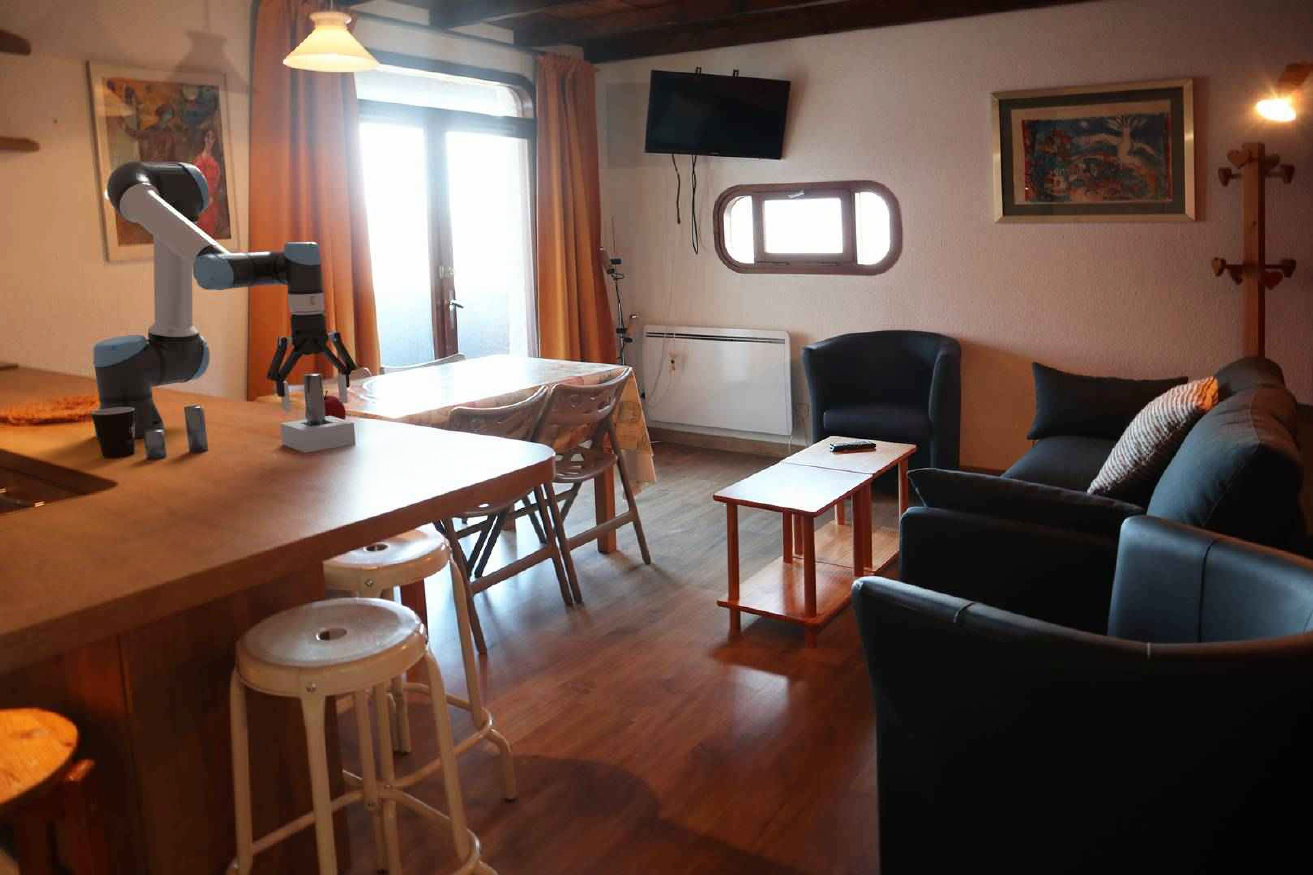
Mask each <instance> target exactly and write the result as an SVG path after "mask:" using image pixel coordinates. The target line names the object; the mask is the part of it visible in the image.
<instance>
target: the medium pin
mask: <svg viewBox="0 0 1313 875" xmlns="http://www.w3.org/2000/svg"><path fill="white" fill-rule="evenodd" d="M204 406H205V405H200V404H197V405H189V406H185V407H183V408H184V410H183V411H184V418H185V419H184V420H185V427H186V435H187V445H188V452H189V453H192V454H200V453H205V452H209V443H208V435H207V434H208V433H207V427H206V418H205V417H206V416H205V407H204Z"/></svg>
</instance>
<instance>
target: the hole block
mask: <svg viewBox="0 0 1313 875" xmlns="http://www.w3.org/2000/svg"><path fill="white" fill-rule="evenodd" d="M325 419H326V424H323V425H317V426H308V425H307V419H306V418H305V419H299V420H292V421H287V422H282V423H281V422H280V430H281V431H280V433H281V440H282V445H283V446H286V447H287V448H291V449H294V450H297V451H299V452H302V453H305V454H306V453H307V454H308V453H311V452H316V451H324V450H330V449H336V448H340V447H342V448H343V447H347V446H353V445H356V443H357V442H356V432H355V422H353V421H349V420H346V419H345V420H343V419H340V418H336V417H333V416H325Z"/></svg>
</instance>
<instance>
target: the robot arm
mask: <svg viewBox="0 0 1313 875" xmlns="http://www.w3.org/2000/svg"><path fill="white" fill-rule="evenodd" d="M106 193H107V198H108V200H109V202H110V204H111V205H112V207H113V209H115V211H116V212H117V213H118V214H119V215H121V217H123V218H124V219H125V220H127V221H130V222H132V223H137V224H139V225H140V226H142V228H144V229H145V230H146V231H147V232H149V233H150V234H151V235H152V236H153V238H152V239H153V240H152V241H153V242H152V243H153V292H154V293H153V294H154V295H153V297H154V298H153V300H154V306H153V307H154V322H153V323H152V324H151V325H150V326H149V327H148V328H147V332H148V333H147V338H146V336H144V335H143V334H128V335H122V336H116V337H112V338H111V337H110V338H106V339H104V340H102V341H99V342H98V343H97V344H95V345H94V347H93V365H94V370H95V377H96V379H95V380H96V385H97V393H98V401H99V408H98V410H100V409H107V408H117V407H131V408H134V409H135V439H139V438H140V439H141V438H144V431H146V430H152V429H163V430H164V431H165V423H164V420H163V418H162V415H161V414H160V412H159V410H158V407H157V405H156V404H155V402H154V396H153V388H154V387H160V386H166V385H167V386H168V385H172V384H178V383H180V384H183V383H187V382H189V381H194V380H197V379H200V378H201V377H202V375H204V374H205V373H206V371H207V369H208V368H209V364H210V358H211V356H210V354H211V353H210V348H209V346H207V344H208V342H207V341H206V339H205V338H204V337H203V336H202V335H201V334H200V329H198V328H197V326H195V324H194V323H193V278H194V280H196V283H197V285H198V286H199V287H200V288H202V289H203V290H206V291H207V290H208V291H224V290H231V289H238V288H239V289H240V288H242V289H243V288H251V287H252V288H253V287H266V286H279V285H280V286H287V296H288V297H287V298H288V311H289V312H291V314H290V316H289V319H290V320H289V322H290V331H291V336H289V337H286V336H280V335H279V336H278V337H277V347H276V349H275V352H274V355H273V358H272V361H271V362H270V366H269V368H268V370H267V374H266V379H267V380H269V381H274V383H275V386H276V387H275V388H276V395H277V397H280V398H281V407H282V408H281V409H282V411H284V412H286V413H287V412H291V411H292V410H291V401H290V400H291V399H290V387H289V381H285V380H286V379H287V377H288V376H289V375H290V373H291V371H292V370H293V368H294V367H295V366H296V364H297V362H299V359H301V358H302V357H303V355H304V356H310V355H313V354H314V355H320V354H321V355H323V356H324V357H325V358H326V360H328V361H329V362H330V363H331V364H332V365H333V366H334V368H335V369H337V370H338V371H339V372H340V373H337V374H336V375H337V389H338V399H339V402H341V403H343V404H348V402H349V400H348V389H349V388H350V387H351V383H350V375H351V374H352V372H353V371H356V370H357V369H358V368H357V365H356V363H355V362H354V359H353V358H352V356H351V355H350V353H349V351H348V349H347V348H346V345H344V343H343V341H342V340H343V339H342V336H341V332H340V331H335V330H334V331H331V332H330V333H329V332H328V333H327V320H326V313H325V312H323V311H325V310H326V309H325V297H324V286H323V273H322V262H323V261H322V259H321V253H320V251H321V250H320V247H319V246H320V245H319V244H318V243H317V242H314V241H295V242H286V243H285V244H284V245H283V251H279V250H277V251H276V250H267V249H266V250H258V251H251V252H250V251H249V252H229V251H228V250H227V249H226V248H224V247H223V246H222V245H220V244H219V243H218V242H217V241H216V240H214V239H213V238H212V237H210V236H209V235H208V234H207V233H205V231H203V230H202V229H201V228H199V227H198V226H197V224H198V223H199V222H200V219H199V218H200V217H199V216H200V215H199V214H200V213H202V212H203V211H205V210H206V209H207V208H208V205H209V203H210V187H209V184H208V181H207V179H206V177H205V176H204V174H203V173H202V171H201V170H200V169H199V168H198V167H197V166H195V165H194V164H191V163H188V162H187V163H186V162H178V161H140V160H133V161H129V162H125V163H122V164H121V165H118V167H116V168H115V169H114V170H113V171H112V173H111V174H110V176H109V177H108V180H107V185H106ZM328 341H330V342H332V344H333V346H334V348H335V350H336V351H337V353H338V355H339V356H340V358H341V360H342V361H341V360H340V358H338V357H337V356H336V354H334V352H332V350H331V349H330V348H329V347H328V346H327V343H328ZM291 344H292V346H293V348H292V350H291V351H290V354H289V356H288V358H287V359H286V360H285V362H284V364H283V361H284V359H285V356H286V354H287V351H288V350H287V349H288V347H290V345H291ZM94 433H95V438H96V439H98V437H97V433H96V429H95V428H94Z"/></svg>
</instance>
